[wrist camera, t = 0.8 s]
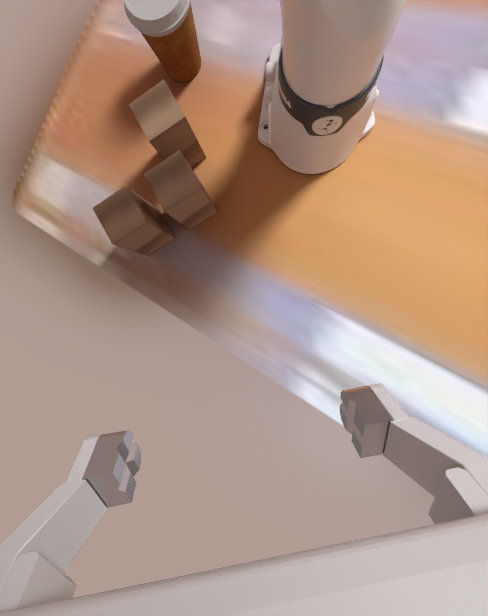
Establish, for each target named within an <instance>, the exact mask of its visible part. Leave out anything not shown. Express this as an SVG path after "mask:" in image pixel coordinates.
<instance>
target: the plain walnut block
mask: <svg viewBox="0 0 488 616" xmlns="http://www.w3.org/2000/svg"><path fill="white" fill-rule="evenodd" d="M93 210H94V212H95V213H96V215H97V217H98V219H99V221H100V222H101V224H102V226H103V228H104V230H105V232H106V233H107V235H108V237H109V239H110V241H111V243H112V244H114V245H117V246H120V247H123V248H126V249H129V250H132V251H136V252H139V253H142V254H145V255H148V256H149V255H150V254H152V253H153V252H155V251H157V250H158V249H160V248H162V247H163V246H165V245H166V244H168V243H170V242H171V241H173V240H174V239H175V237H174V235H173V233H172V231H171V230H170V228H169V226H168V224H167V222H166V221H165V219H164V217H163V215H162V213H161V212H160V210H159V209H157V208H156V207H155V206H153V205H152V204H151V203H149V202H148V201H147V200H145V199H144V198H143V197H141V196H140V195H138V194H137V193H136V192H134V191H133V190H132V189H130V188H129V187H128V186H125V187H123V188H122V189H120V190H119V191H117V192H116V193H114V194H113V195H111V196H110V197H108V198H107V199H105V200H104V201H102V202H101V203H99V204H98V205H96V206H95V207H93Z"/></svg>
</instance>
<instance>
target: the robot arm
mask: <svg viewBox="0 0 488 616" xmlns="http://www.w3.org/2000/svg"><path fill="white" fill-rule="evenodd" d="M405 3H406V0H280V6H281V17H282V38H281V41H280V42H279V43H278V44H276V45H275V46H274V47H273V48H272V49H271V52H270V57H269V62H268V63H266V73H265V80H266V83H265V89H264V96H263V102H262V108H261V115H260V121H259V128H258V140H259V142H260V143H262V144H263V145H265V146H266V147H268V148H270V149H272V150H273V151H274V152H275V154H276V155H277V156H278V158H279V159H280V160H281V161H282V162H283V163H284V164H285V165H286V166H287V167H289V168H291V169H292V170H295V171H297V172H300V173H305V174H318V173H323V172H326V171H329V170H331V169H333V168H335V167H337V166H338V165H339V164H341V163H342V162H343V161H344V160H345V159H346V158H347V157H348V156H349V155H350V153H351V152H352V150H353V149H354V147H355V145H356V144H357V142H358V141H359V140H360V139H361V138H363V137H364V136H365V135H367V134H368V133H369V132H370V131H371V130H372V129H373V126H374V124H375V117H374V113H373V108H374V105H375V103H376V100H377V98H378V94H379V90H378V89H377V88H376V82H377V80H378V77H379V74H380V70H381V67H382V63H383V56H384V52H385V50H386V48H387V45H388V43H389V41H390V39H391V36H392V34H393V32H394V29H395V27H396V25H397V22H398V20H399V18H400V16H401V13H402V11H403V9H404V6H405ZM264 127H268V128H267V129H264ZM341 399H342V401H343V403H342V404H341V405H340V415H341V419H342V422H343V425H344V427H345V429H346V431H348V432H349V433H351V434H352V442H353V444H354V446H355V448H356V450H357V452H358V454H359V456H360V458H363V457H369V456H375V455H381V454H384V456H385V457H386V458H387V459H388V460H390V461H391V462H392V463H393V464H395V465H396V466H397V467H398V468H400V469H401V470H402V471H403V472H405V473H406V474H407V475H408V476H410V477H411V478H412V479H413V480H414V481H416V482H417V483H418V484H419V485H421V486H422V487H423V488H424V489H426V490H427V491H428V492H429V493H431V494H432V495H433V496H434V497H435V498H434V501H433V503H432V506H431V508H430V511H429V515H430V517H431V519H432V520H433V522H434V524H433V525H428V526H424V527H418V528H414V529H409V530H404V531H399V532H394V533H389V534H384V535H379V536H375V537H370V538H365V539H360V540H355V541H350V542H345V543H341V544H336V545H331V546H326V547H321V548H316V549H311V550H306V551H302V552H297V553H292V554H287V555H282V556H277V557H272V558H267V559H262V560H257V561H253V562H248V563H243V564H238V565H233V566H229V567H223V568H219V569H214V570H209V571H204V572H199V573H194V574H189V575H185V576H179V577H175V578H170V579H165V580H160V581H156V582H150V583H145V584H141V585H136V586H131V587H126V588H121V589H116V590H111V591H107V592H102V593H97V594H92V595H87V596H82V597H77V598H72V597H73V594H74V591H75V587H76V585H75V583H74V582H73V581H72V580H71V579H70V578H69V577H68V576H66V575H65V574H64V572H65V571H66V569H67V568H68V566H69V565H70V563H71V562H72V561H73V559H74V558H75V556H76V554H77V553H78V552H79V550H80V549H81V547H82V546H83V544H84V543H85V541H86V540H87V539H88V537H89V536H90V534H91V533H92V531H93V530H94V528H95V527H96V525H97V524H98V523H99V521H100V520H101V518H102V517H103V515H104V514H105V512H106V511H107V508H108V507H113V506H116V505H121V504H126V503H131V502H132V499H133V494H134V490H135V486H136V481H135V479H134V475H135V474H136V473H137V472H138V470H139V468H140V463H141V452H140V448H139V445H138V443H136V442H134V441H132V440H133V434H132V432H131V431H130V430H129V431H122V432H115V433H109V434H102V435H97V436H91V437H87V438H86V439H85V441H84V442H83V445H82V446H81V449H80V451H79V453H78V455H77V458H76V460H75V462H74V464H73V466H72V469H71V471H70V473H69V475H68V478H67V480H66V482H65V483H64V484H60V485H59V486H58V487H57V488H56V489H55V490H54V491H53V492H52V493H51V494H50V495H49V496H48V497H47V498H46V499H45V500H44V501H43V502H42V503H41V505H39V506H38V507H37V508H36V509H35V510H34V512H32V513H31V515H29V517H27V518H26V519H25V520H24V521H23V522H22V523H21V525H19V527H17V529H15V531H14V532H12V533H11V534H10V535H9V536H8V537H7V539H6V540H5V541H4V542H2V543H1V544H0V616H488V458H487V457H485V456H484V455H482V454H480V453H478V452H476V451H474V450H473V449H471V448H469V447H467V446H465V445H463V444H461V443H460V442H458V441H456V440H454V439H452V438H450V437H449V436H447V435H445V434H443V433H441V432H439V431H438V430H436V429H434V428H432V427H430V426H428V425H426V424H425V423H423V422H421V421H419V420H417V419H415V418H414V417H411V418H409V417H408V416H407V415H406V413H405V412H404V411H403V410H402V408H401V407H400V406H399V404H398V403H397V402H396V401H395V399H394V398H393V397H392V396H391V394H390V393H389V392H388V390H387V389H386V388H385V387H384V385H382V384H381V383H380V384H375V385H370V386H363V387H358V388H353V389H348V390H343V391H342V392H341Z"/></svg>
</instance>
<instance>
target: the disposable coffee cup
mask: <svg viewBox="0 0 488 616" xmlns="http://www.w3.org/2000/svg"><path fill="white" fill-rule="evenodd" d="M124 6H125V11H126V14H127V16H128V18H129V20H130V22H131V23H132V24H133V25H134V26H135V27H136V28H137V29H138V30H139V31H140V32H141V33H142V35H143V36H144V38H145V39H146V41H147V42H148V44H149V45H150V47H151V48H152V50H153V51H154V53H155V54H156V56H157V57H158V59H159V60H160V62H161V63H162V65H163V66H164V68H165V69H166V71H167V72H168V74H169V75H170V77H171V78H172V79H174V80H175V81H178V82H186V81H189V80H191V79H193V78H194V77H195V76H196V75H197V73H198V72H199V69H200V66H201V57H200V52H199V46H198V41H197V35H196V30H195V24H194V19H193V14H192V8H191V2H190V0H124Z"/></svg>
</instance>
